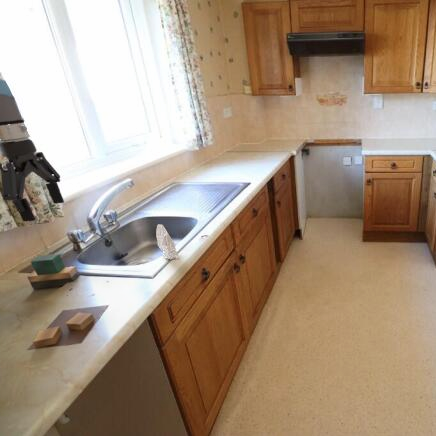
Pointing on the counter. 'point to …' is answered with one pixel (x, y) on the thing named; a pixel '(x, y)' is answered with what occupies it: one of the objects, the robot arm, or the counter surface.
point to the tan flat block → (47, 337)
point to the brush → (51, 272)
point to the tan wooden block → (80, 321)
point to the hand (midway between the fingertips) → (45, 211)
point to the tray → (73, 335)
